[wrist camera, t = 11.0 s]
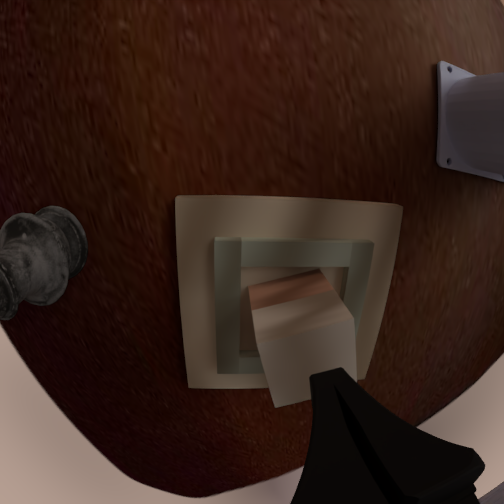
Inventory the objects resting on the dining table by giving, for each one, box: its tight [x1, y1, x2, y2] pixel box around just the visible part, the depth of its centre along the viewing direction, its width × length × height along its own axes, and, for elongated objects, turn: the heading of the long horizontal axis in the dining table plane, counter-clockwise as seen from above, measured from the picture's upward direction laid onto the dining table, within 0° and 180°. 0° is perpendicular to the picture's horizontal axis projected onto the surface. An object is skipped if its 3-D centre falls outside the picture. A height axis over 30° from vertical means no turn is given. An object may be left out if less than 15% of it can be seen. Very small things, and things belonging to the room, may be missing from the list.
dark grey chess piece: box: [0, 206, 88, 320], centre depth 12 cm, size 6×6×12 cm
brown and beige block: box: [248, 269, 357, 408], centre depth 17 cm, size 4×4×6 cm
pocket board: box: [175, 195, 403, 389], centre depth 20 cm, size 14×14×2 cm
